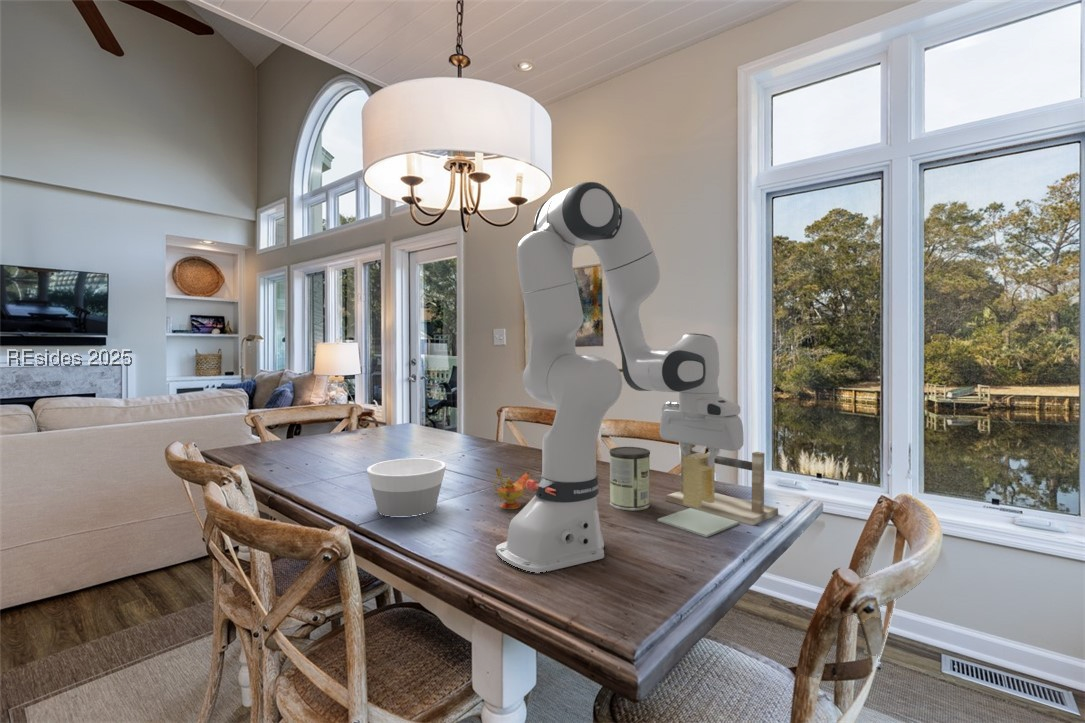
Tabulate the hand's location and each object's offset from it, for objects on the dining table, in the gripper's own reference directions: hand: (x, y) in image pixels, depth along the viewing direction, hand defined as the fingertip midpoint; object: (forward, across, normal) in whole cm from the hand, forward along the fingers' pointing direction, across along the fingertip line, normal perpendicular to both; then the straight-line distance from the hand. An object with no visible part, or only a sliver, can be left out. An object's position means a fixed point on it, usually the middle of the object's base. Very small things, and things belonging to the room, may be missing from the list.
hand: (698, 464), depth 116 cm
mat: (+14, 0, 0) cm, 14 cm away
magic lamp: (+14, -38, -25) cm, 48 cm away
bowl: (+13, -52, -48) cm, 72 cm away
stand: (+14, -3, +14) cm, 20 cm away
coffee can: (+14, -19, -2) cm, 24 cm away
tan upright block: (+9, 0, 0) cm, 9 cm away
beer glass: (+14, -19, +25) cm, 34 cm away
